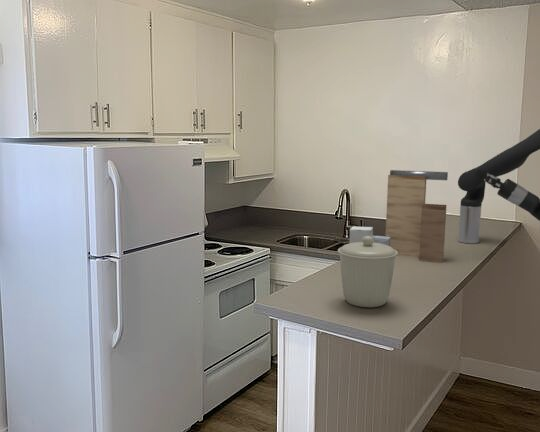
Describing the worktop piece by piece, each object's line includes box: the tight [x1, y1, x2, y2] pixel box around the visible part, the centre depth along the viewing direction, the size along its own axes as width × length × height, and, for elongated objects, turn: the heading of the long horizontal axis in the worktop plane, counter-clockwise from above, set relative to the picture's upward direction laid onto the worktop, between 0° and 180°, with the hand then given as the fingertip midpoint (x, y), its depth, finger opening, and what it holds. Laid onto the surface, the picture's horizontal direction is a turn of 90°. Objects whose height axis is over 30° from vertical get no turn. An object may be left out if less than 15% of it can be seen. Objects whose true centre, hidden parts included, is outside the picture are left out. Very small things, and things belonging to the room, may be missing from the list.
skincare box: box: [349, 226, 374, 243], centre depth 214 cm, size 8×7×16 cm
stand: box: [385, 174, 427, 257], centre depth 237 cm, size 7×15×34 cm, turn 70°
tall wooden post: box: [418, 203, 447, 264], centre depth 227 cm, size 7×9×22 cm
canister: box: [337, 236, 398, 308], centre depth 172 cm, size 18×18×21 cm
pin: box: [389, 169, 449, 181], centre depth 232 cm, size 3×23×3 cm, turn 69°
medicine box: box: [373, 235, 390, 246], centre depth 231 cm, size 8×4×9 cm, turn 65°
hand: (476, 171), depth 229 cm, fingers open, 8 cm apart
